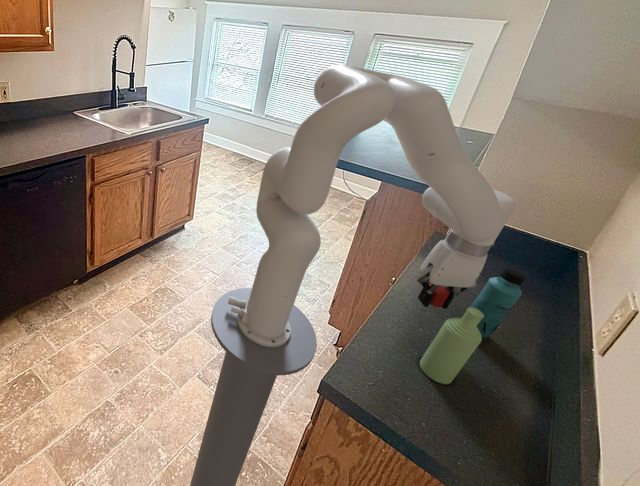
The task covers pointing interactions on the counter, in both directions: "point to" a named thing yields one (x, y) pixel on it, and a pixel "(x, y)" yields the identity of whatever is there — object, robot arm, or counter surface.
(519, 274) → the beverage bottle
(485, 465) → the counter surface
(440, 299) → the cap
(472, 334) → the sauce bottle
